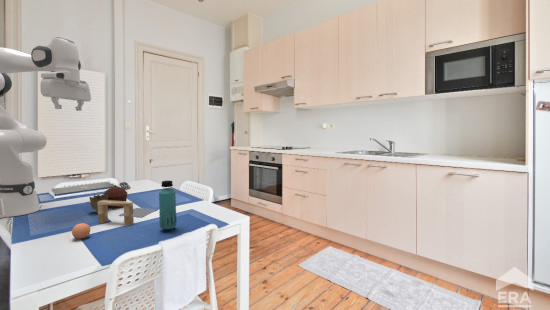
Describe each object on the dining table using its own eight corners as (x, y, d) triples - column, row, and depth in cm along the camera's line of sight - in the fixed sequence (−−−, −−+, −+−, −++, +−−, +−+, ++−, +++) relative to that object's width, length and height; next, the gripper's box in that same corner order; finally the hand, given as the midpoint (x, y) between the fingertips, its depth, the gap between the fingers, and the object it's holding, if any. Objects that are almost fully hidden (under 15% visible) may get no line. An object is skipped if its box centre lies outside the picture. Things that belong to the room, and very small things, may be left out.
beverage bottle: (166, 234, 101) (165, 183, 99) (155, 230, 105) (154, 181, 103) (180, 229, 107) (179, 180, 105) (169, 225, 110) (168, 178, 108)
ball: (68, 240, 94) (67, 225, 94) (81, 234, 100) (81, 220, 99) (81, 241, 93) (80, 226, 93) (94, 235, 99) (93, 221, 98)
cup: (99, 215, 122) (98, 198, 121) (86, 214, 123) (85, 197, 122) (112, 210, 129) (111, 194, 128) (99, 209, 130) (99, 193, 130)
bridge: (128, 225, 110) (127, 203, 109) (98, 222, 112) (97, 201, 112) (133, 222, 113) (132, 201, 112) (104, 220, 115) (103, 199, 115)
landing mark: (118, 215, 122) (118, 215, 122) (136, 208, 134) (136, 207, 134) (141, 217, 120) (141, 217, 120) (157, 209, 132) (157, 209, 132)
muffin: (104, 204, 139) (104, 186, 138) (128, 202, 144) (128, 184, 143) (100, 211, 128) (100, 191, 127) (126, 208, 133) (126, 189, 132)
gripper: (82, 82, 124) (83, 111, 125) (36, 72, 104) (38, 107, 105) (93, 81, 123) (95, 111, 124) (49, 72, 103) (51, 107, 104)
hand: (68, 109), depth 115 cm, fingers open, 8 cm apart
